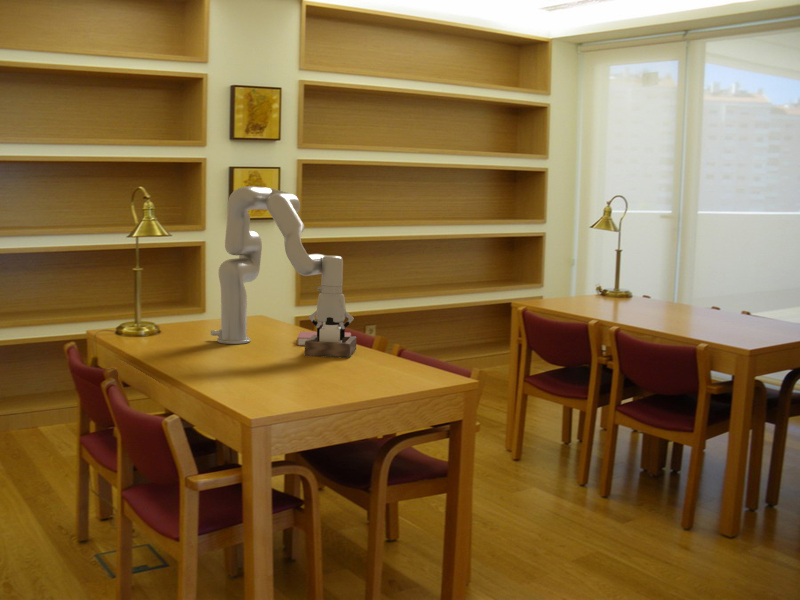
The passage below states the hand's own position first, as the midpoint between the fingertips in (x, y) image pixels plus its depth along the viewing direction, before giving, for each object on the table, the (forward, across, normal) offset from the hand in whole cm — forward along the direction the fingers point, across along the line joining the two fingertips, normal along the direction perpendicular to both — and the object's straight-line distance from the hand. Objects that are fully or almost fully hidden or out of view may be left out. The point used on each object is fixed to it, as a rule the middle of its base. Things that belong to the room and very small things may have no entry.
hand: (330, 338), depth 301 cm
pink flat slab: (+5, -6, +20) cm, 21 cm away
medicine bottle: (+3, 0, 0) cm, 3 cm away
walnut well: (+5, 0, 0) cm, 5 cm away
